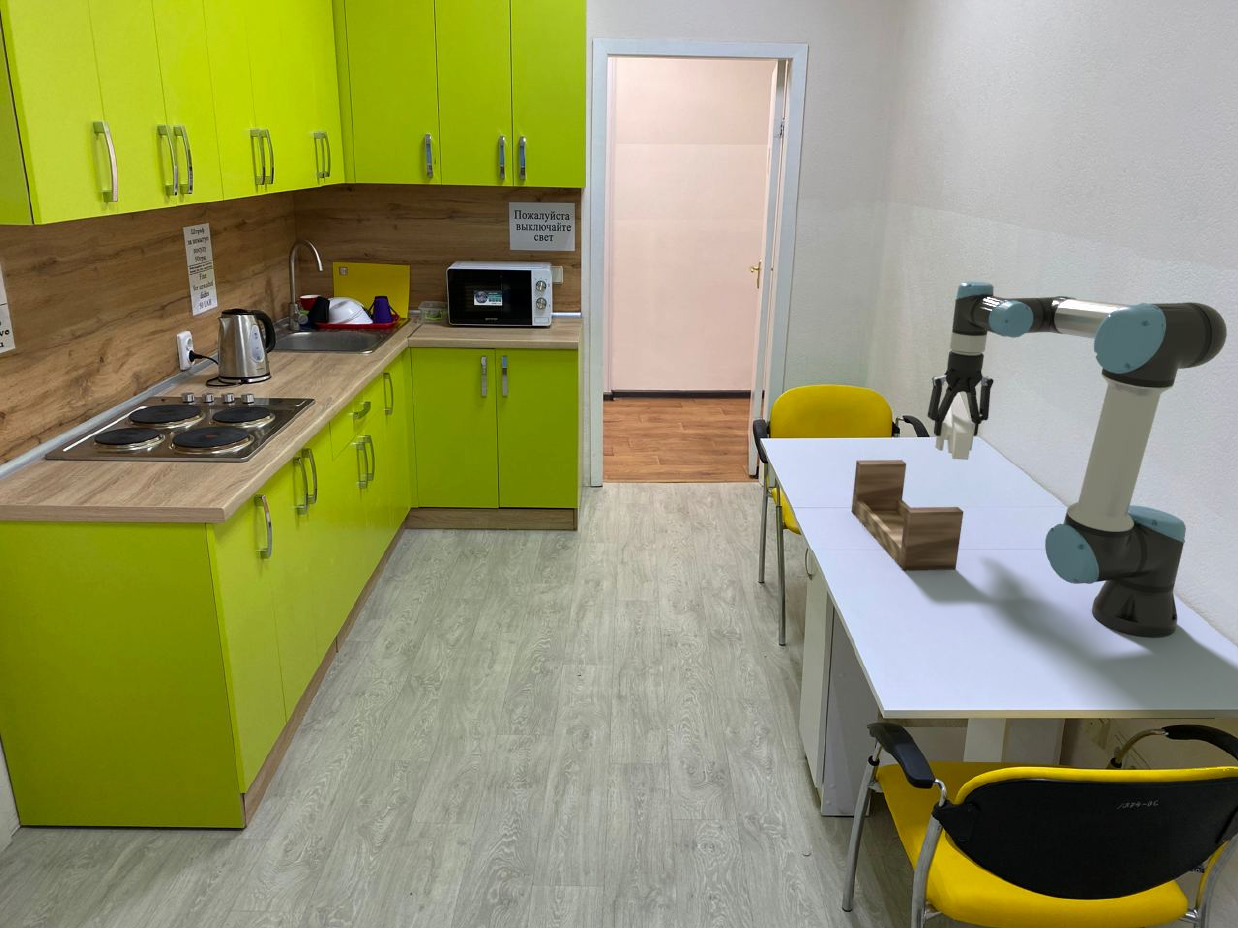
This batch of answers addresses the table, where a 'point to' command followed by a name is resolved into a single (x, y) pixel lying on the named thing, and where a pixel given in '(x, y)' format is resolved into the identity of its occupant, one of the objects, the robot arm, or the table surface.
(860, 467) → the cradle
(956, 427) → the shelf bracket
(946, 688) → the table surface
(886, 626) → the table surface
